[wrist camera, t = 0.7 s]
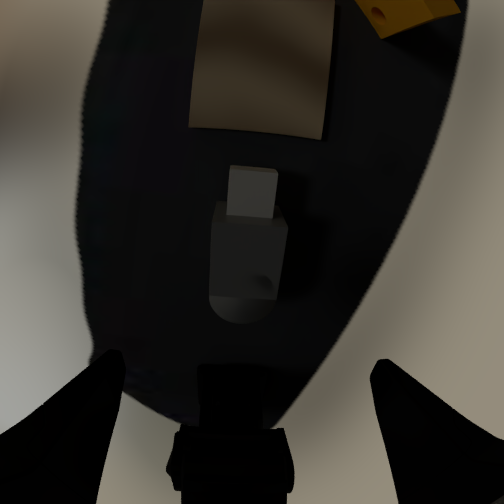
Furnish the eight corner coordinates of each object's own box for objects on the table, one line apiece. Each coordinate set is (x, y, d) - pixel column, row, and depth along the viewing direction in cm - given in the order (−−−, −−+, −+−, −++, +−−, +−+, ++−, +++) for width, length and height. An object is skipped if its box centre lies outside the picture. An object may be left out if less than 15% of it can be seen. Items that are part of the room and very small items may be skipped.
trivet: (318, 139, 17) (321, 140, 16) (190, 127, 16) (188, 127, 16) (332, 3, 13) (334, 0, 12) (207, -13, 12) (206, -16, 11)
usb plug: (266, 290, 22) (271, 325, 18) (212, 287, 21) (208, 321, 18) (283, 166, 18) (295, 179, 14) (219, 161, 17) (214, 172, 14)
